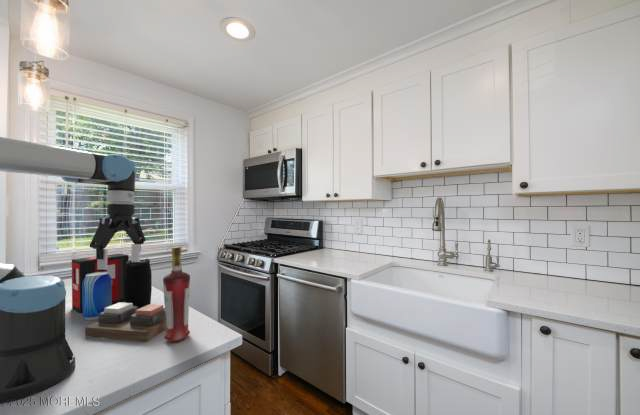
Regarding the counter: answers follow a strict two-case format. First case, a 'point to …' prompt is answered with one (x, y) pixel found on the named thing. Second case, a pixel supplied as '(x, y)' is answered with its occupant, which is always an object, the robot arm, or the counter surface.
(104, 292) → the blue striped container
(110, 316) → the key panel
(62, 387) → the counter surface
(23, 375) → the robot arm
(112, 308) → the off-white key
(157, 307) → the brick-red key
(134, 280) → the black tapered cylinder
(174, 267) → the liquor
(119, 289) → the cleaning product box
